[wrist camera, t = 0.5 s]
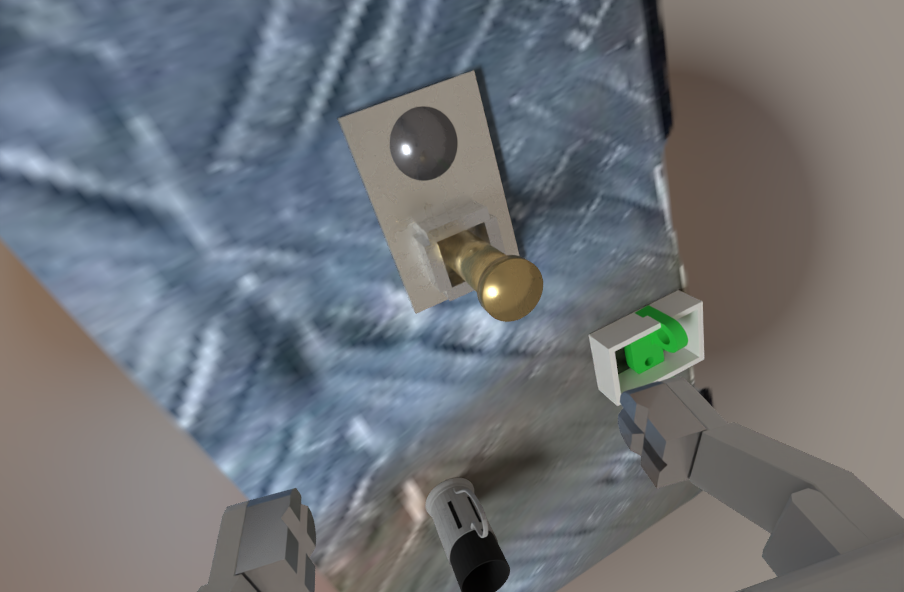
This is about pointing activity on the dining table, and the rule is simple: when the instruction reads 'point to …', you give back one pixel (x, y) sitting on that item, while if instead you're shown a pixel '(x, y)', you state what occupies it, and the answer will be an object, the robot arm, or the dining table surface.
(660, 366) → the parts tray
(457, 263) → the brass flanged pin
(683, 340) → the mechanical part
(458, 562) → the glass holder
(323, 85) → the dining table surface
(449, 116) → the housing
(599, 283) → the dining table surface
